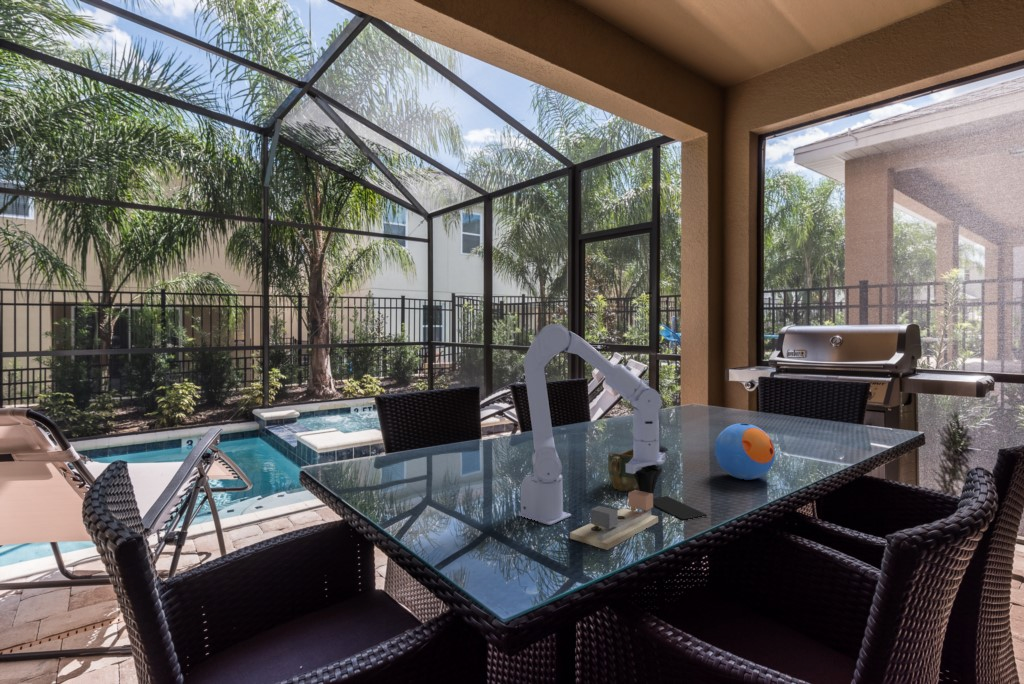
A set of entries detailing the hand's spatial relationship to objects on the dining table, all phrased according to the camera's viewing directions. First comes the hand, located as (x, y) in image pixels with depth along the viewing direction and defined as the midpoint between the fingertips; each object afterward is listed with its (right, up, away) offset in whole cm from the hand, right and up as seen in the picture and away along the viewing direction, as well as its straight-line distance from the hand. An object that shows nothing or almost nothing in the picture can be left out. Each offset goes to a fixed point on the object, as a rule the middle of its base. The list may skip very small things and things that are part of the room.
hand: (646, 498), depth 123 cm
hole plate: (-9, -4, -8) cm, 13 cm away
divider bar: (-7, -3, -10) cm, 13 cm away
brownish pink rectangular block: (-2, -2, -2) cm, 4 cm away
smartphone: (+8, -4, +4) cm, 10 cm away
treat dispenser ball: (+35, -3, +28) cm, 45 cm away
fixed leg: (-12, -3, -12) cm, 17 cm away
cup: (+1, -4, +24) cm, 24 cm away
